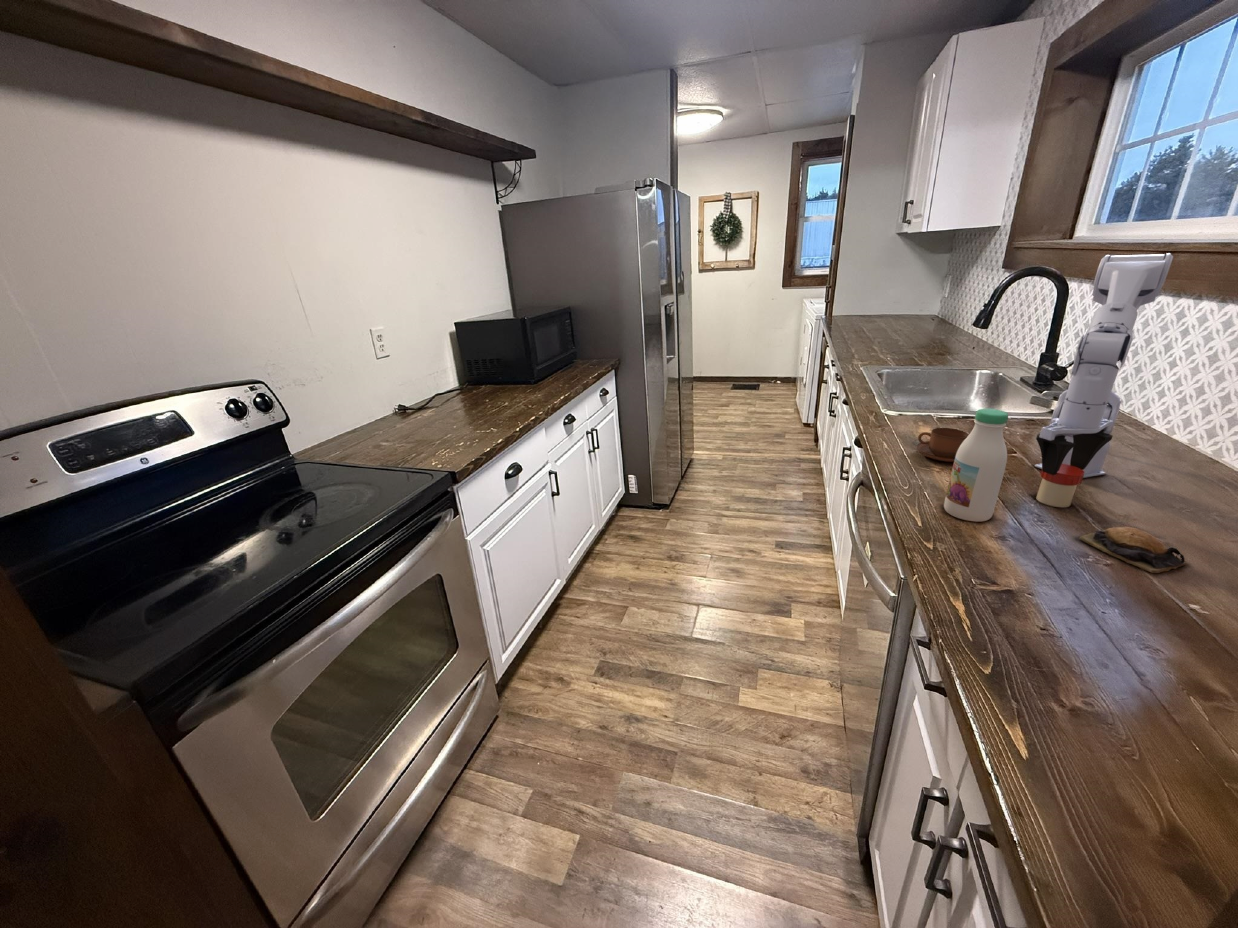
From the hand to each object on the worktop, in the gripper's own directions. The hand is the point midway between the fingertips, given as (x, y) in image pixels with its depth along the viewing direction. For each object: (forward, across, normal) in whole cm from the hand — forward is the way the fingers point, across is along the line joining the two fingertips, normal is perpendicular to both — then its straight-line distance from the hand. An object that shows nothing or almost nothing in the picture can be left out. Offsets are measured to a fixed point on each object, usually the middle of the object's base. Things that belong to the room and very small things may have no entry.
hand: (1063, 470), depth 94 cm
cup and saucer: (+7, 0, -25) cm, 26 cm away
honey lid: (0, 0, 0) cm, 0 cm away
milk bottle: (+7, +19, -2) cm, 20 cm away
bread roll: (+7, +6, +17) cm, 19 cm away
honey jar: (+7, 0, 0) cm, 7 cm away
